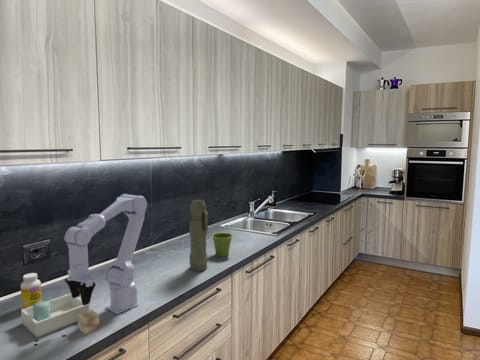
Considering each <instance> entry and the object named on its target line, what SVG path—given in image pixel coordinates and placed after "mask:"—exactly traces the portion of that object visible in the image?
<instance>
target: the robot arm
mask: <svg viewBox="0 0 480 360" xmlns="http://www.w3.org/2000/svg"><path fill="white" fill-rule="evenodd" d="M147 207H148V202H147V199H146V198H145V197H144V196H143V195H134V194H127V193H122V194H121V195H120V196H117V197H116V200H115V201H114V202H113V203H111V204H110V205H109V206H108V207H107V208H105V209H104V210H102V212H101V213H94V214H93V213H92V214H90V215H89V216H88V217H87V218H86V219H85V220H83V221H82V222H79V223H78V224H77V225H76V226H72V227H69V228H68V229H67V230H66V232H65V233H64V234H65V235H64V236H63V239H64V241H65V242H66V243H67V248H68V260H69V261H68V262H69V269H68V270H67V277H65V278H64V281H65V283H66V284H67V287H68V289H69V290H70V293H71V295H72V297H73V298H76V297H79V298H80V299H81V301H82V304H83V305H87V304H89V305H90V303H91V299H92V294H93V292H94V289H95V288H96V286H97V284H96V282H94V281H93V279H92V277H91V274H90V271H89V267H90V266H89V252H88V251H89V250H88V249H89V248H88V244H89V243H90V241H91V239H92V237H94V235H95V234H96V233H98V232H100V231H101V230H102V229H103V228H104V227H106V222H107V221H109V220H110V219H112V218H114V217H115V216H117V215H118V214H120V213H122V212H123V213H124V214H125V215H126V216H127V218H128V223H127V226H126V229H125V232H124V235H123V238H122V240H121V244H120V247H119V251H118V255H117V257H116V259H114V260H112V262H110V264H109V267H107V269H106V272H105V274H104V280H105V281H106V283H108V286H109V298H110V299H109V300H110V302H109V303H110V304H109V305H106V306H105V308H106V309H107V310H109V311H111V312H112V313H114V314H116V315H118V314H121V313H123V312H125V311H127V310H130V309H133V308H135V307H138V306H139V303H138V292H137V291H138V289H137V285H136V284H135V282H134V277H135V275H134V274H135V266H134V264H133V263H132V260H133V256H134V254H135V251H136V247H137V244H138V241H139V237H140V234H141V231H142V227H143V223H144V221H145V215H146V211H147Z"/></svg>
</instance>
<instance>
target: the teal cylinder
mask: <svg viewBox="0 0 480 360" xmlns="http://www.w3.org/2000/svg"><path fill="white" fill-rule="evenodd" d="M48 301H49V300H44V301H43V300H42V302H38V303H36V304H34V305H33V318H34V319H35V320H36V321H37V322H38V321H41V320H44V319H46V318H49V317H50V303H49V302H48Z"/></svg>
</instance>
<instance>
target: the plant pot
mask: <svg viewBox="0 0 480 360" xmlns="http://www.w3.org/2000/svg"><path fill="white" fill-rule="evenodd" d="M211 237H212V240H213V244H214V251H215V255H216V256H217V257H220V256H221V257H227V256H229V253H230V249H231V248H230V246H231V241H232V237H233V234H232V233H228V232H215V233H213V234H211Z"/></svg>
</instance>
